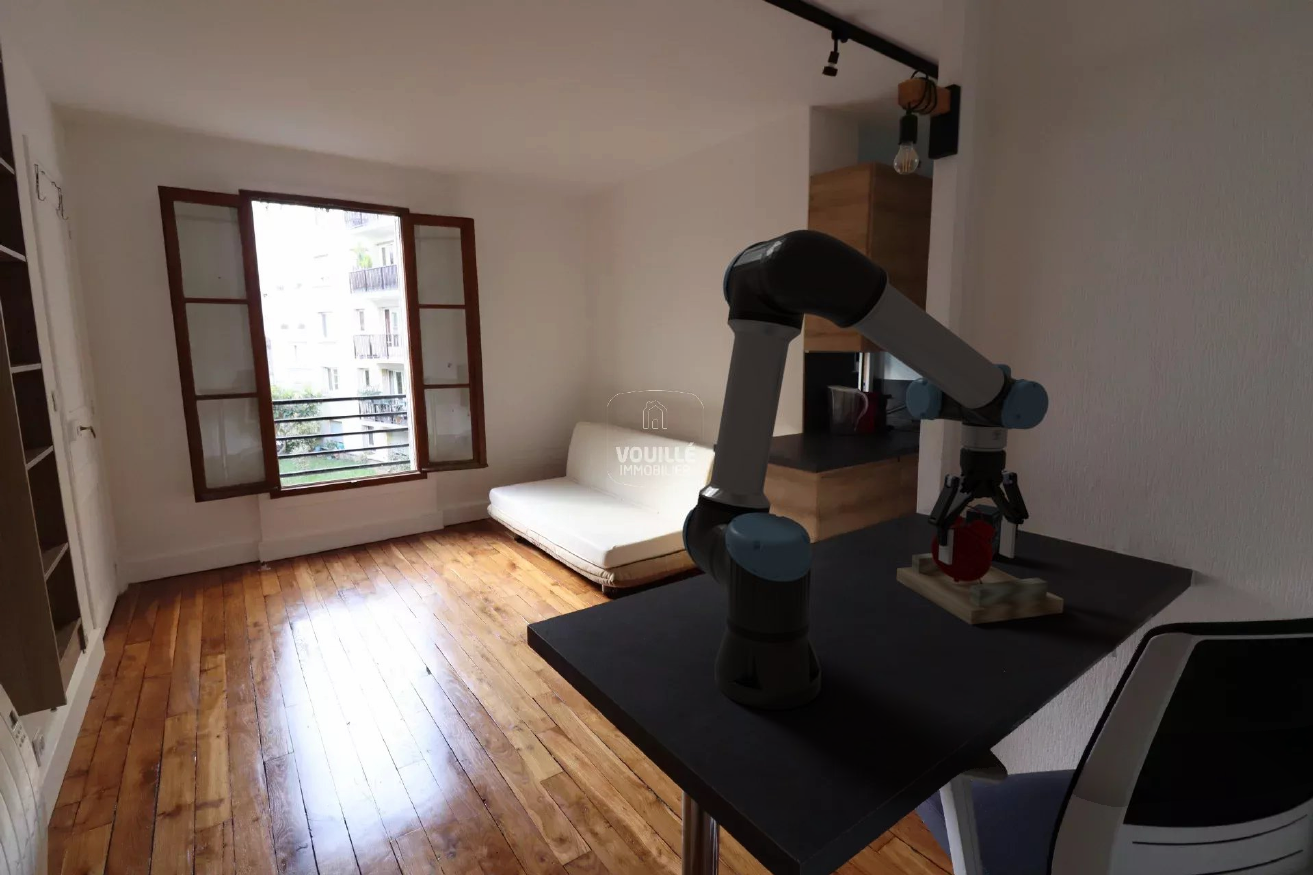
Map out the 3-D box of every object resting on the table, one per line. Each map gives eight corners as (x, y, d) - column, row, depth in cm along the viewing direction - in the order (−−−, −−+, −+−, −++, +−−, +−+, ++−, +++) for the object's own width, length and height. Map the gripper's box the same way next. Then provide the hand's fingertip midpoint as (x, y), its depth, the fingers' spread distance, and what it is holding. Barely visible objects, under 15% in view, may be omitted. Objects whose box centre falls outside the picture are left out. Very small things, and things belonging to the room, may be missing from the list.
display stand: (970, 624, 105) (972, 594, 104) (896, 580, 125) (897, 554, 124) (1062, 612, 109) (1065, 582, 108) (976, 571, 129) (978, 546, 128)
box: (989, 560, 136) (992, 514, 134) (962, 554, 140) (965, 509, 138) (1001, 551, 141) (1004, 507, 140) (974, 546, 145) (977, 503, 144)
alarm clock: (991, 587, 114) (1007, 510, 112) (981, 594, 110) (998, 513, 108) (934, 569, 122) (949, 496, 119) (923, 574, 117) (937, 499, 115)
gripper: (937, 454, 106) (931, 571, 109) (1056, 447, 112) (1047, 559, 115) (910, 448, 114) (905, 558, 117) (1023, 441, 119) (1015, 546, 122)
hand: (976, 558), depth 116 cm, fingers open, 13 cm apart
